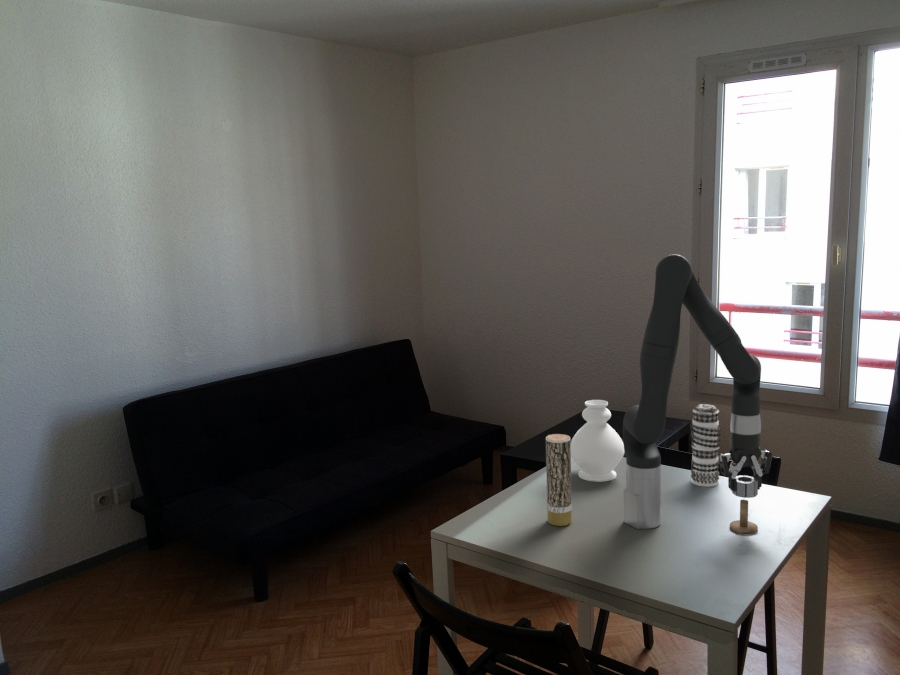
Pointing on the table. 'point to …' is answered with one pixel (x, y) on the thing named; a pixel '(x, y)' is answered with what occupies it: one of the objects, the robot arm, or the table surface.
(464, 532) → the table surface
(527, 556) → the table surface
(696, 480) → the decorative candle
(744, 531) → the wooden peg stand
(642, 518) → the robot arm
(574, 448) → the decorative vase
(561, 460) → the paper tube
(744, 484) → the ring
